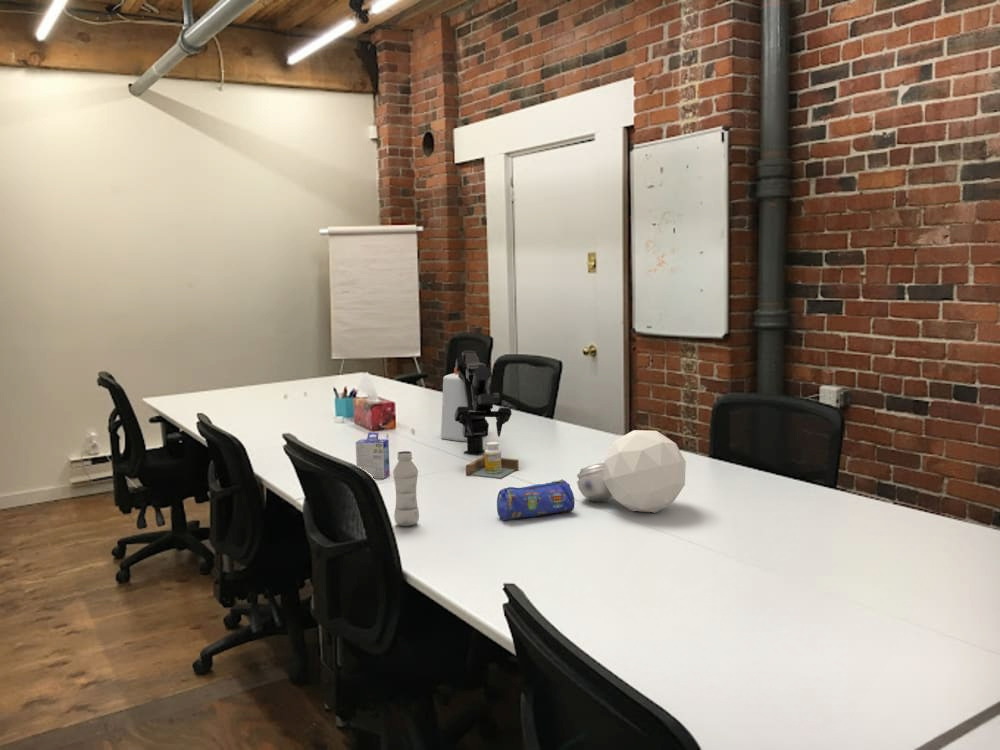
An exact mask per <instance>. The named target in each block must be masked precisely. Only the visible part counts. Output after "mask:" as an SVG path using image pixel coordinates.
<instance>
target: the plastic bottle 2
mask: <svg viewBox="0 0 1000 750" xmlns="http://www.w3.org/2000/svg"><path fill="white" fill-rule="evenodd" d="M442 379H443V380H442V402H441V403H442V405H441V426H440V427H441V428H440V429H441V430H440V431H441V432H440V436H441V438H442V439H443V440H446V441H447V440H448V441H454V442H463V443H465V442H466V443H467V437H466V438H464V436H463V425H462V424H461V423H459V422H457V421H455V412H456V409H457V408H458V407H459V406H461V407H467V404H466V397H465V390H464V383H463V381H462V380H461V379H460V378H459V377H458V371H456V366H455V367H454V369H453V373H449V374H447V375H445V376H443V378H442ZM483 438H485V436H483Z"/></svg>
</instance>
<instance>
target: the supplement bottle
mask: <svg viewBox="0 0 1000 750" xmlns="http://www.w3.org/2000/svg"><path fill="white" fill-rule="evenodd" d="M484 456H485V472H486V473H499V472H501V458H502V451H501V449H500V448H499V441H488V442H486V449H485V452H484Z"/></svg>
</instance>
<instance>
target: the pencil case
mask: <svg viewBox="0 0 1000 750" xmlns="http://www.w3.org/2000/svg"><path fill="white" fill-rule="evenodd" d="M575 505H576V503H575V495H574V492H573V490H572V488H571V485H570V484H569V483H568V482H567V481H566V480H564V479H563V478H562V479H559V480H552V481H551V482H546V483H539V484H538V483H537V484H533V485H528V486H523V487H514V486H508V487H504V488H502V489H499V492H498V494H497V498H496V511H497V516H498V517H499V519H500V520H503V521H507V520H515V519H521V518H533V517H538V516H544V515H545V516H546V515H553V514H558V513H563V512H564V513H569V512H570V513H571V512H572V511H573V510H574V509H575Z"/></svg>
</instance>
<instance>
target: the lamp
mask: <svg viewBox="0 0 1000 750" xmlns="http://www.w3.org/2000/svg"><path fill="white" fill-rule="evenodd" d="M686 463H687V461H686V460H685V458H684V456H683V454H682V452H681V451H680V449H679V447H678V445H677V443H676V442H674V441H673V440H671V439H670V438H668V437H667V436H666V435H664V434H662V433H661V432H659V431H657V430H642V429H641V430H639V429H638V430H636V429H634V430H632V431H630V432H628V433H626V434H624V435H623V436H620V437H618V438H617V439H615V440H614V442H613V444H612V445H611V447H610V449H609V451H608V452H607V453H606V456H605V458H604V462H602V463H595V464H591V465H588V466H586V467H582V468H581V469H580V471H579V473H577V476H576V478H577V479H578V480H576V481H577V482H576V484H577V488H578V490H579V492H580V493H581V495H582V496H583V497H584V498H585V499H587V500H589V501H592V502H594V503H595V502H596V503H602V502H605V501H609V500H610V499H611V498H613V499H614V500H615V501H616V502H618V503H620V504H621V505H622V506H624V507H625V508H626V509H627V510H630V512H634V511H639V512H638V513H650V512H656V513H657V512H659V511H661V510H662V509H664V508H666V507H667V506H669V505H670V504H673V503H674V502H675V500H676V499H677V498H678V497H679V494H680V493H681V492H682V490H683V488H684V487H685V486H686V469H687V468H686V465H687V464H686Z"/></svg>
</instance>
